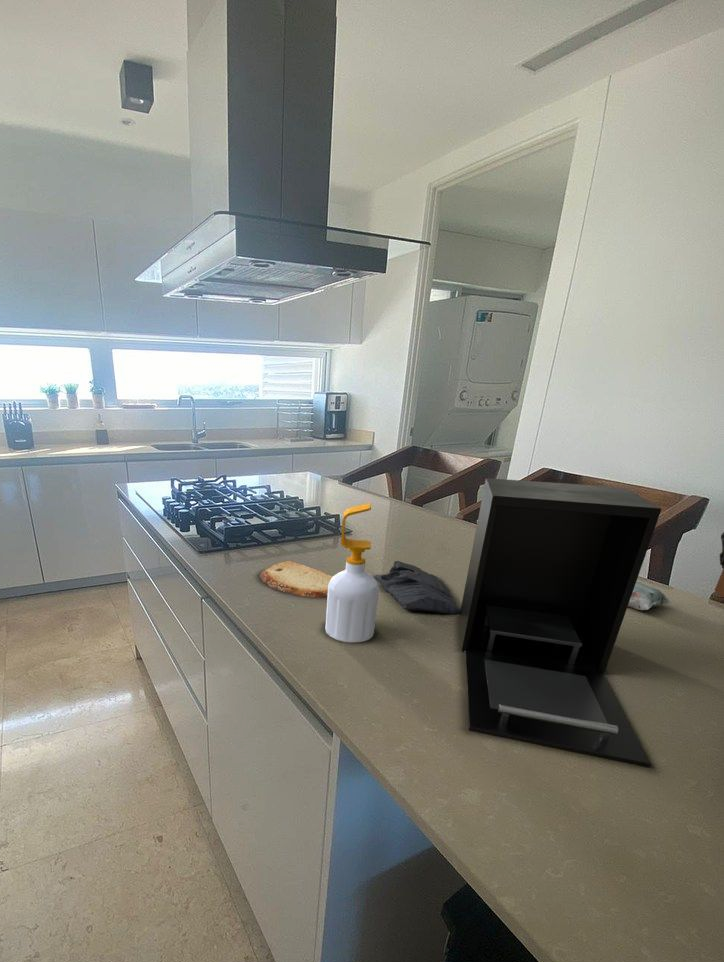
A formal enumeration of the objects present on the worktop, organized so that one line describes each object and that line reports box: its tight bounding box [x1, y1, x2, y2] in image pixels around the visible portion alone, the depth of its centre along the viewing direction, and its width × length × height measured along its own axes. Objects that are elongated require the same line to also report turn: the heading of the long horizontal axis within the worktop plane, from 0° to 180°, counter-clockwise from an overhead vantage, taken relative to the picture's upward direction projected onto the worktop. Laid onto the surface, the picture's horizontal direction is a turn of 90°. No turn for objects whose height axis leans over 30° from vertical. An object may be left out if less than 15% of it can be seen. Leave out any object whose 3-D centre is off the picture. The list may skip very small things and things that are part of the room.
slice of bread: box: [259, 560, 333, 598], centre depth 113 cm, size 18×18×4 cm
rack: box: [483, 605, 582, 664], centre depth 87 cm, size 14×11×4 cm
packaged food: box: [627, 581, 671, 611], centre depth 105 cm, size 9×12×5 cm
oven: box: [459, 477, 662, 769], centre depth 74 cm, size 22×38×28 cm, turn 162°
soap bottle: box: [325, 502, 380, 644], centre depth 87 cm, size 9×9×25 cm
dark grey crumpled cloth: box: [374, 560, 461, 615], centre depth 108 cm, size 15×22×5 cm
